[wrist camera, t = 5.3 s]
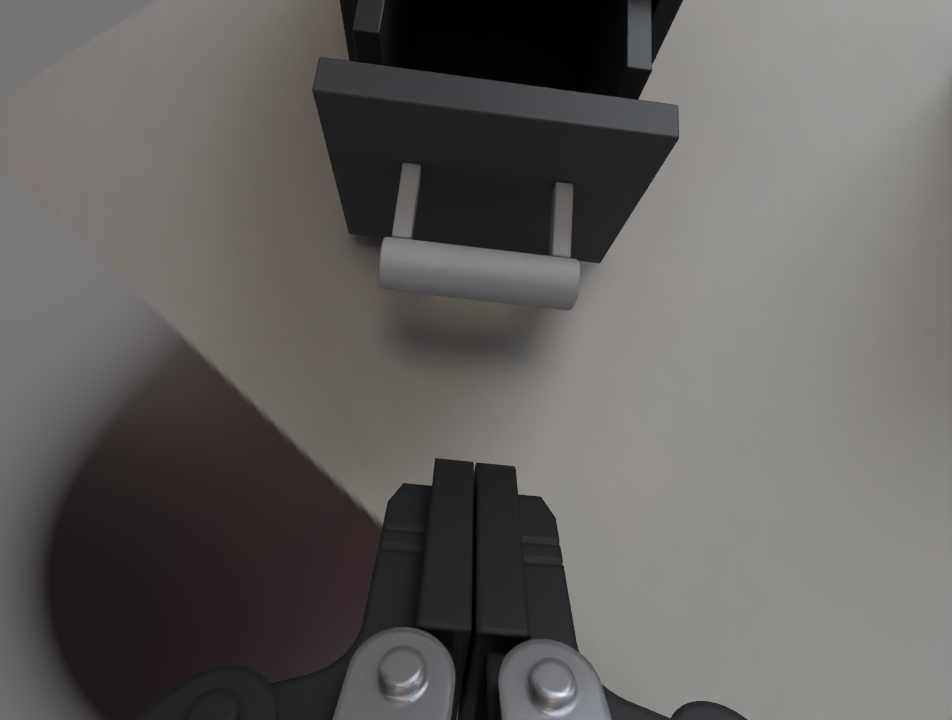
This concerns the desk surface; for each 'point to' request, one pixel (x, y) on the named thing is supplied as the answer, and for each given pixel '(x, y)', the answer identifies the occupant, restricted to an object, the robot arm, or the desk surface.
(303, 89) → the desk surface
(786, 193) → the desk surface
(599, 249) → the drawer
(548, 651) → the robot arm
